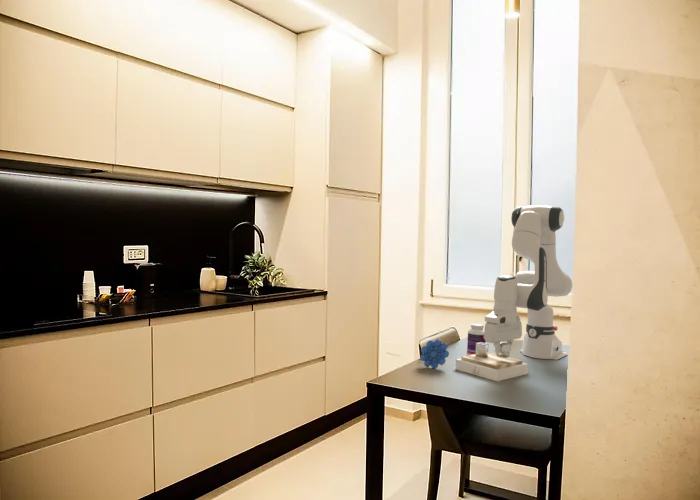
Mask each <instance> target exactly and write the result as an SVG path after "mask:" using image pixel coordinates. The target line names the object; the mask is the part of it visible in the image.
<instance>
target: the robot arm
mask: <svg viewBox="0 0 700 500" xmlns="http://www.w3.org/2000/svg"><path fill="white" fill-rule="evenodd" d="M564 221H565V214H564V210H563V209H562V208H561V207H560V206H556V205H553V206H552V205H543V204H542V205H539V204H538V205H526V206H524V205H520V206H516V207H515V208H514V209H513V210H512V212H511V223H512V226H513V227H514V230H513V232H512V237H511V247H512V249H513V251H514V252H515V254H517V255H518V256H520V257H521V258H524V259H525V260H528V261H530V262H531V263H533V265H534V270H524V271H518V272H517V273H515V275H511V274H505V275H499V276H498V277H496V278H495V279H496V280H495V284H494V290H493V292H494V293H493V300H494V304H493V310H492V311H491V312H490V313H489V314H487V315H485V316H484V322H485V324H484V329H483V330H484V339H485V341H486V343H488V344H489V343H490V344H493V345H494V352H495V354H496V353H501V348H500V346H499V344H500V342H506V343H509V344H510V352H511V351H512V346H513V343H514V340H517V339H518V340H519V339H521V338H522V336H523V340H522V341H523V342H522V347H521V348H520V350H519V352H520V353H521V354H522V355H523V356H527V357H530V358H535V359H545V360H559V359H561V358H563V357H566V356H568V353H567V352H566V351H564V350H563V342H562V341H561V340H560V339H559V337H558V336H556V334H555V333H556V332H555V331H558V329H559V328H558V326H557V325H554V309H553V307H552V306H551V305H549V304H548V298H549V297H557V298H559V297H567V296H568V295H569V294H570V293H571V291H572V289H573V281H572V278H571V277H570V275H568V274H567V273H565V272H564V271H563V270H562V268H561V266H560V265H559V263H558V260H557V251H556V250H557V248H556V247H557V246H556V240H557V239H556V238H557V237H556V236H557V235H556V231H558V230H560V229H561V228H562V227H563V224H564ZM517 308H521V309H526V310H527V323H526V326H525V331H526V333H525V334H524V335H523V326H522V324H523V323H522V321H521V318H520V316H519V315H517V313H518V312H517V311H518V309H517Z"/></svg>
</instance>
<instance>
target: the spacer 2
mask: <svg viewBox="0 0 700 500" xmlns="http://www.w3.org/2000/svg"><path fill="white" fill-rule="evenodd" d="M499 346H500V348H501V353H496V352H495V354H496V356H498V357H503V358H508V357H511V356H510V353H511V351H510V344H509V343H507V342H506V341H502V342H500V344H499Z"/></svg>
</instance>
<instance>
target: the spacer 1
mask: <svg viewBox="0 0 700 500" xmlns="http://www.w3.org/2000/svg"><path fill="white" fill-rule="evenodd" d="M489 347H490V346H489V343H488V342H486V343H476V356H477V357H488V352H489V349H490V348H489Z"/></svg>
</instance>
